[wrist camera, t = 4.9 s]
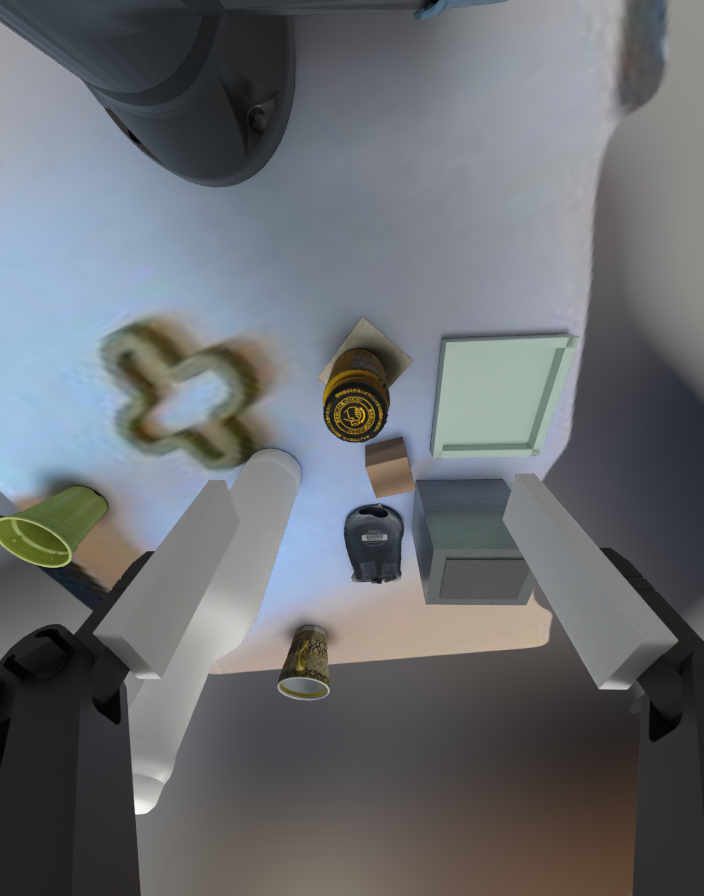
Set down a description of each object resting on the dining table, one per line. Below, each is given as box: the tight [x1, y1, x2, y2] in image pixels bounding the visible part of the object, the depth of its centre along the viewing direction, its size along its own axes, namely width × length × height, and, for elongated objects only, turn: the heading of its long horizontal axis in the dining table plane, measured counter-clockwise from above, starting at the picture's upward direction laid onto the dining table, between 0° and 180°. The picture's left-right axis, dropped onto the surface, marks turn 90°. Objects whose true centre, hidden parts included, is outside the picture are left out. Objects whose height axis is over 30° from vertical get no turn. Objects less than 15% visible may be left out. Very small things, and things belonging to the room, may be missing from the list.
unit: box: [412, 479, 537, 605], centre depth 37 cm, size 10×12×12 cm
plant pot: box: [0, 486, 108, 567], centre depth 41 cm, size 9×9×9 cm
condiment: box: [317, 317, 413, 443], centre depth 28 cm, size 7×8×12 cm
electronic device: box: [344, 503, 404, 584], centre depth 46 cm, size 9×6×15 cm
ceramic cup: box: [277, 625, 330, 700], centre depth 57 cm, size 13×10×10 cm
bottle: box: [128, 448, 302, 814], centre depth 27 cm, size 8×8×30 cm
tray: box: [430, 334, 579, 458], centre depth 33 cm, size 14×13×2 cm
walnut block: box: [365, 437, 416, 498], centre depth 36 cm, size 5×5×5 cm
